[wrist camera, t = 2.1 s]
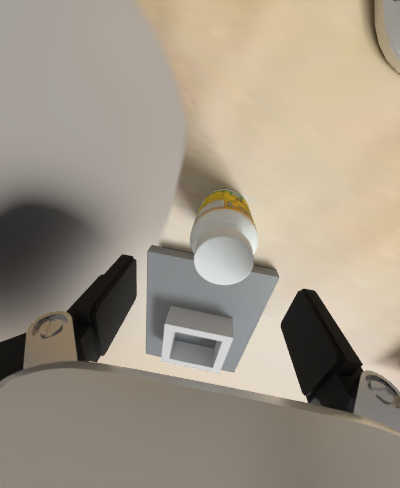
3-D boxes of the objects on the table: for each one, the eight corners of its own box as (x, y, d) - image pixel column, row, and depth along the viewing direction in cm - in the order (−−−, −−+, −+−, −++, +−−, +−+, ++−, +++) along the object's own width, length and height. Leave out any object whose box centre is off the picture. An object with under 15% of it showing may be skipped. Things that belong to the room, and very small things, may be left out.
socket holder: (151, 245, 24) (137, 265, 20) (276, 269, 23) (286, 295, 20) (148, 345, 35) (139, 371, 31) (233, 363, 34) (234, 392, 31)
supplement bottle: (191, 201, 21) (167, 243, 12) (237, 178, 19) (246, 210, 10) (212, 241, 23) (204, 300, 14) (255, 223, 21) (275, 280, 13)
